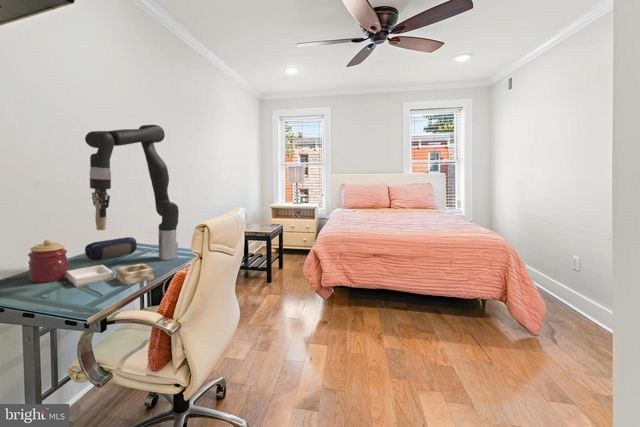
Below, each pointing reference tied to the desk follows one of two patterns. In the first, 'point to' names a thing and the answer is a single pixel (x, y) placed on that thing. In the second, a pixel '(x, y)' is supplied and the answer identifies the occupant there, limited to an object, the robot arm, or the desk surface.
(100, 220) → the handle
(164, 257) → the robot arm
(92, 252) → the portable speaker
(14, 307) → the desk surface
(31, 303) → the desk surface
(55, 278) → the canister
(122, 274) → the socket block
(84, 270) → the tray
